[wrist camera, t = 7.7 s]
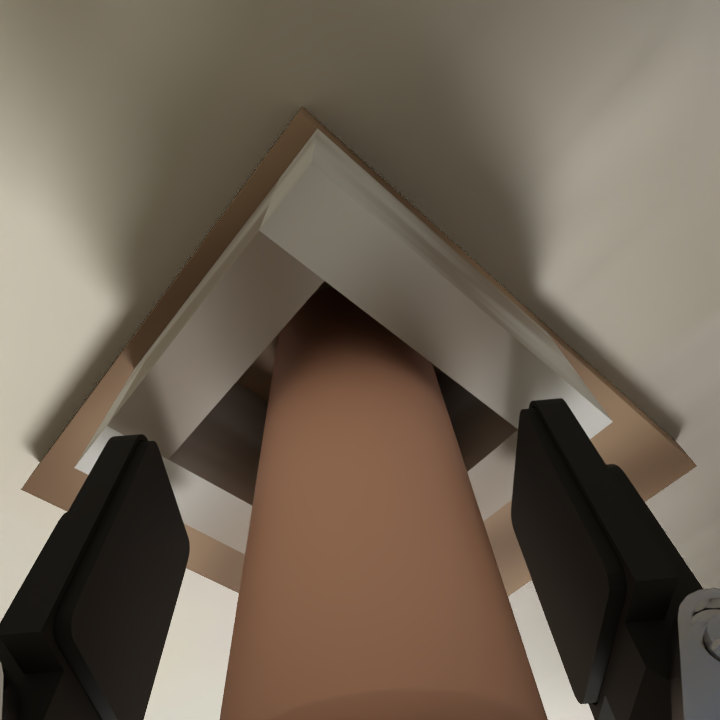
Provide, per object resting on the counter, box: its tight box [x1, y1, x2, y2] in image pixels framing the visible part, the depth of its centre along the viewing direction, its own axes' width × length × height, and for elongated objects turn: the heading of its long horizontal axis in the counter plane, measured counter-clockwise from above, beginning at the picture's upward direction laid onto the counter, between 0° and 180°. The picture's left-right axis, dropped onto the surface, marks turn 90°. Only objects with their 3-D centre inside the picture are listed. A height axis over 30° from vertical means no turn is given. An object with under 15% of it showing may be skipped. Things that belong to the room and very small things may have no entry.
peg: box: [220, 287, 548, 720], centre depth 11 cm, size 4×4×10 cm
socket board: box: [21, 107, 697, 596], centre depth 16 cm, size 16×14×5 cm
